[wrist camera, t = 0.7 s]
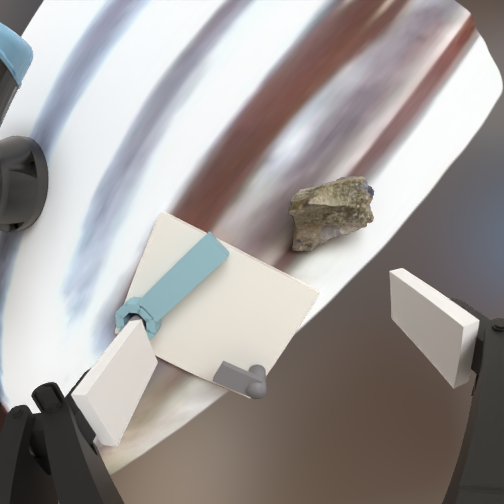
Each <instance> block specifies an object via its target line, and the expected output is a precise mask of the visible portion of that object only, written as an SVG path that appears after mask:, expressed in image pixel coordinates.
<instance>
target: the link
mask: <svg viewBox="0 0 504 504" xmlns="http://www.w3.org/2000/svg"><path fill="white" fill-rule="evenodd" d="M229 254H230V252H229V251H228V250H227V249H226V248H225V247H224V246H223V245H222V244H221V243H220V242H219V241H218V240H217V238H216V237H215V236H214V235H213V234H212V233H211V232H210V231H209V232H208V233H207V234H206V235H205V236H204V237H203V238H202V239H201V240H200V241H199V242H198V243H197V244H196V245H195V246H193V247H192V248H191V249H190V250H189V251H188V252H187V253H186V254H185V255H184V256H183V257H182V258H181V259H180V260H179V261H178V262H177V263H176V264H175V265H174V266H173V267H172V268H171V269H170V270H169V271H168V272H167V273H166V274H165V275H164V276H163V277H162V278H161V279H160V280H159V281H158V282H157V283H156V284H155V285H154V286H153V287H152V288H151V289H150V290H149V291H148V292H147V293H146V294H145V295H144V296H143V297H133V298H130V299H129V300H128V301H127V302H126V303H125V304H124V305H123V306H122V307H121V308H120V309H119V310H118V311H117V312H116V315H115V319H116V326H117V328H118V329H119V330H118V331H119V332H121V331H122V329H123V328H124V326H125V324H126V323H127V322H128V321H129V320H130V319H131V313H138V314H139V315H140V316H141V317H142V318H143V319H144V320H145V321H146V327H144V328H145V330H146V333H147V336H148V339H149V341H150V340H151V339H152V338H153V337H154V336H155V335H156V333H157V332H158V330H159V329H160V326H161V318H162V317H163V316H165V315H166V314H167V313H168V312H169V311H170V310H171V309H172V308H173V307H174V306H175V305H176V304H178V303H179V302H180V301H181V300H182V299H183V298H184V297H185V296H186V295H187V294H188V293H189V292H191V291H192V290H193V289H194V288H195V287H196V286H197V285H198V284H199V283H200V282H201V281H203V280H204V279H205V278H206V277H207V276H208V275H209V274H210V273H211V272H212V271H213V270H215V269H216V268H217V267H218V266H219V265H220V264H221V263H222V262H223V261H224V260H226V259H227V258H228V256H229Z"/></svg>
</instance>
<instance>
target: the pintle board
mask: <svg viewBox="0 0 504 504" xmlns="http://www.w3.org/2000/svg"><path fill="white" fill-rule="evenodd" d="M206 234H207V233H206V232H204V231H202V230H200V229H198V228H196V227H194V226H192V225H190V224H188V223H186V222H184V221H182V220H180V219H178V218H176V217H174V216H172V215H170V214H168V213H167V212H165V211H163V212H161V213H160V215H159V217H158V220H157V222H156V224H155V227H154V229H153V231H152V234H151V236H150V238H149V241H148V243H147V246H146V248H145V250H144V253H143V255H142V258H141V260H140V263H139V265H138V268H137V271H136V273H135V276H134V278H133V281H132V284H131V286H130V289H129V292H128V295H127V297H126V300H125V303H126V302H127V301H128V300H129V299H130V298H133V297H143V296H144V295H145V294H146V293H147V292H148V291H149V290H150V289H151V288H152V287H153V286H154V285H155V284H156V283H157V282H158V281H159V280H160V279H161V278H162V277H163V276H164V275H165V274H166V273H167V272H168V271H169V270H170V269H171V268H172V267H173V266H174V265H175V264H176V263H177V262H178V261H179V260H180V259H181V258H182V257H183V256H184V255H185V254H186V253H187V252H188V251H189V250H190V249H191V248H192V247H193V246H195V245H196V244H197V243H198V242H199V241H200V240H201V239H202V238H203V237H204V236H205V235H206ZM217 240H218V241H219V242H220V243H221V244H222V245H223V246H224V247H225V248H226V249H227V250H228V251H229V252H230V254H229V256H228V258H227V259H226V260H224V261H223V262H222V263H221V264H220V265H219V266H218V267H217V268H216V269H215V270H213V271H212V272H211V273H210V274H209V275H208V276H207V277H206V278H205V279H204V280H203V281H201V282H200V283H199V284H198V285H197V286H196V287H195V288H194V289H193V290H192V291H191V292H189V293H188V294H187V295H186V296H185V297H184V298H183V299H182V300H181V301H180V302H179V303H178V304H176V305H175V306H174V307H173V308H172V309H171V310H170V311H169V312H168V313H167V314H166V315H165V316H163V317H162V318H161V326H160V329H159V330H158V332H157V333H156V335H155V336H154V337H153V338H152V339H151V340H150V344H151V346H152V349H153V352H154V354H155V355H156V356H158V357H160V358H162V359H164V360H166V361H167V362H169V363H171V364H173V365H175V366H178V367H180V368H182V369H184V370H186V371H188V372H190V373H192V374H194V375H196V376H199V377H201V378H203V379H205V380H207V381H210V382H212V383H214V384H216V385H219V386H221V387H223V388H226V389H228V390H230V391H233V392H235V393H238V394H240V395H243V396H245V397H248V398H253V399H260V398H263V397H264V396H265V395H266V375H267V374H268V372H269V371H270V369H271V368H272V367H273V365H274V364H275V362H276V361H277V359H278V358H279V356H280V355H281V353H282V352H283V350H284V349H285V347H286V346H287V344H288V342H289V341H290V340H291V338H292V337H293V335H294V333H295V332H296V330H297V329H298V327H299V326H300V324H301V323H302V321H303V319H304V318H305V316H306V315H307V313H308V311H309V310H310V308H311V307H312V305H313V303H314V302H315V300H316V298H317V297H318V295H319V291H318V290H317V289H315V288H313V287H311V286H309V285H307V284H305V283H304V282H302V281H300V280H298V279H296V278H294V277H292V276H290V275H288V274H286V273H284V272H282V271H280V270H278V269H276V268H274V267H272V266H270V265H268V264H266V263H264V262H262V261H260V260H258V259H256V258H254V257H252V256H250V255H249V254H247V253H245V252H243V251H241V250H239V249H237V248H235V247H233V246H231V245H229V244H227V243H225V242H223V241H221V240H219V239H217ZM125 303H124V304H125ZM141 319H142V322H143V325H144V327H146V321H145V320H144V319H143V318H142V317H141V316H140V315H139V314H138V313H131V319H130V320H129V321H134V320H141ZM129 321H128V322H129ZM128 322H127V323H128ZM127 323H126V324H125V326H126V325H127ZM125 326H124V327H125ZM118 330H119V329H118V328H117V326H116V329H115V332H114V333H116V334H119V333H120V332H119V331H118Z"/></svg>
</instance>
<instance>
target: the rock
mask: <svg viewBox="0 0 504 504" xmlns="http://www.w3.org/2000/svg"><path fill="white" fill-rule="evenodd" d="M373 195H374V190H373V189H372V187H370V186H368V183H367V179H366V178H364V177H362V176H360V177H356V176H349V177H341V178H340V179H337V180H336V181H333V182H329V183H326V184H322V185H320V186H315V187H309V188H305V189H300V190H299V191H298V192H297V193H296V194H295V195H294V196H293V197H292V199H291V207H290V209H289V211H288V214H290V215H292V216H293V218H294V222H295V230H294V235H293V246H292V250H294V251H312V250H313V249H314V247H315V246H316V245H318V244H319V245H322V244H324V243H325V242H326V241H327V240H328V239H330V238H333V237H337V236H339V235H342V234H349V233H350V232H354V231H357V230H359V229H360V228H363V227H366V226H367V223H371V222H372V221H373V219H374V217H373V215H372V211H371V208H370V203H371V201H372V199H373Z"/></svg>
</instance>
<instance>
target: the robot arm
mask: <svg viewBox="0 0 504 504" xmlns="http://www.w3.org/2000/svg"><path fill="white" fill-rule="evenodd" d="M32 59H33V51H32V48H31V47H30V45H29V44H28V43H27V42H26V41H25V40H24V39H22V38H21V37H20V36H19V35H17V34H16V33H15V32H13V31H12V30H11V29H9V28H8V27H6V26H5V25H3V24H2V23H0V126H1V124H2V122H3V120H4V117H5V115H6V113H7V111H8V109H9V106H10V104H11V102H12V100H13V98H14V96H15V94H16V92H17V90H18V89H20V87H21V84H22V83H21V82H22V80H23V78H24V76H25V74H26V72H27V70H28V68H29V66H30V64H31V62H32ZM47 189H48V169H47V163H46V159H45V156H44V154H43V151H42V149H41V148H40V146H39V145H38V144H37V143H36V142H35V141H34V140H32V139H30V138H28V137H21V136H12V137H8V138H6V139H3V140H0V231H4V232H17V231H20V230H24V229H26V228H28V227H30V226H31V225H32V224H33V223H34V222H35V221H36V220H37V218H38V217H39V215H40V213H41V211H42V209H43V206H44V203H45V200H46V195H47ZM390 287H391V312H392V319H393V321H395V323H396V324H397V325H398V326H399V327H400V328H401V329H402V330H403V331H404V332H405V334H406V335H407V336H408V337H409V338H410V339H411V340H412V341H413V342H414V343H415V345H416V346H417V347H418V348H419V349H420V350H421V351H422V352H423V354H424V355H425V356H426V357H427V358H428V359H429V360H430V362H431V363H432V364H433V365H434V366H435V367H436V368H437V370H438V371H439V372H440V373H441V374H442V375H443V377H444V378H445V379H446V380H447V381H448V382H449V384H450V385H451V386H452V387H453V388H455V387H458V386H460V385H462V384H464V383H466V382H468V381H469V377H470V373H471V369H472V370H473V371H474V372H475V373H476V374H477V375H476V379H475V384H474V387H473V391H472V396H473V397H472V402H471V407H470V412H469V417H468V422H467V426H466V430H465V434H464V438H463V442H462V446H461V450H460V453H459V457H458V460H457V463H456V466H455V470H454V472H453V476H452V478H451V481H450V485H449V487H448V490H447V492H446V495H445V498H444V500H443V502H442V504H504V319H501V318H498V319H493V320H489V319H488V318H487V317H485V316H484V315H482V314H481V313H479V312H478V311H476V310H474V309H473V308H472V307H471V306H470V307H469V305H468V304H466V303H464V302H463V301H461V300H458V299H454V298H451V299H448V298H447V297H445V296H444V295H442V294H441V293H440V292H438V291H437V290H435V289H433V288H432V287H431V286H429V285H428V284H426V283H425V282H423V281H421V280H420V279H418V278H417V277H415V276H414V275H412V274H411V273H409V272H408V271H406V270H405V269H403V268H400V269H396V270H392V271H390ZM157 363H158V362H157V359H156V357H155V354H154V352H153V349H152V346H151V344H150V341H149V339H148V336H147V333H146V330H145V328H144V325H143V322H142V319H141V320H134V321H129V322H128V323H127V325H126V326H125V327H124V328H123V329H122V331H121V332H120V333H119V334H118V336H117V337H116V338H115V339H114V340H113V342H112V343H111V344H110V345H109V347H108V348H107V349H106V350H105V352H104V353H103V354H102V355H101V357H100V358H99V359H98V360H97V362H96V363H95V364H94V365H93V367H91V368H90V369H89V370H87V371H86V372H85V373H84V374H83V375H82V377H81V378H80V380H78V382H77V383H76V385H74V387H73V388H72V389H71V391H70V392H69V393H68V394H67V396H66V397H64V396H63V394H62V392H61V390H60V388H59V387H58V385H57V383H54V382H49V383H45V384H43V385H41V386H39V387H37V388H36V389H35V390H34V391H33V393H32V396H31V397H32V398H33V400H34V402H35V403H36V405H37V407H38V408H39V410H40V411H41V413H36V414H32V412H31V411H30V409H29V408H28V406H26V405H19V406H15V407H13V408H12V409H11V411H9V413H8V414H7V416H6V419H5V422H4V425H3V428H2V431H1V433H0V504H58V500H59V503H60V504H124V502H123V500H122V498H121V496H120V495H119V493H118V491H117V489H116V487H115V485H114V483H113V481H112V479H111V478H110V475H109V473H108V471H107V469H106V467H105V465H104V462H103V460H102V458H101V456H100V454H99V451H98V449H97V447H96V445H95V444H94V443H93V440H94V438H95V436H97V438H98V439H99V441H100V442H101V443H102V445H106V446H117V447H118V445H119V443H120V440H121V438H122V436H123V434H124V432H125V430H126V428H127V425H128V423H129V421H130V419H131V417H132V415H133V413H134V411H135V409H136V406H137V404H138V402H139V400H140V398H141V396H142V394H143V392H144V390H145V388H146V386H147V384H148V382H149V380H150V378H151V375H152V373H153V371H154V369H155V367H156V365H157ZM31 454H32V455H31Z"/></svg>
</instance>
